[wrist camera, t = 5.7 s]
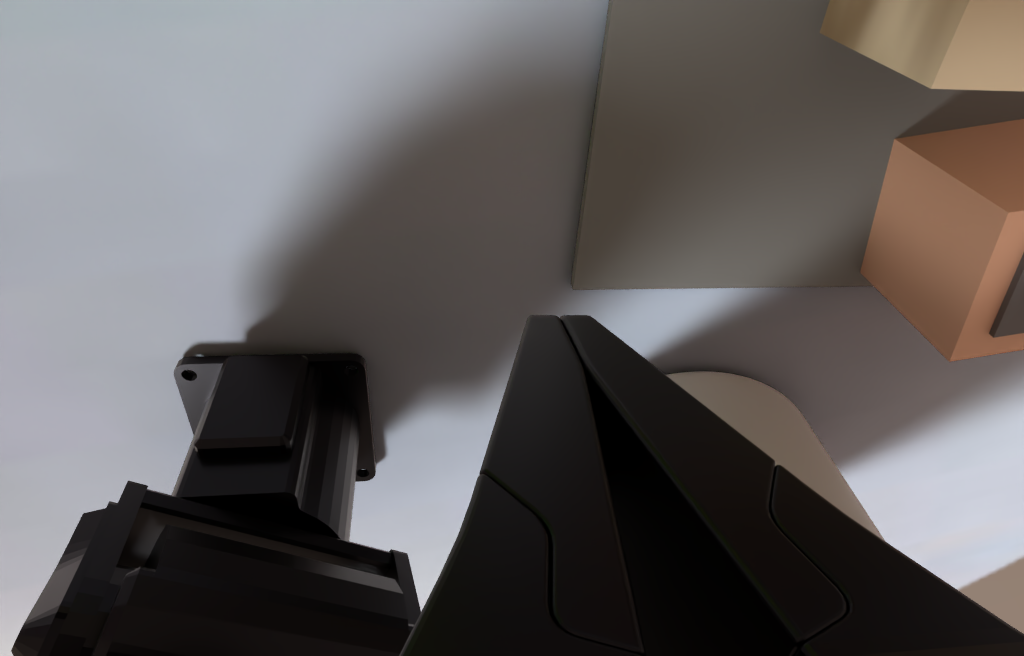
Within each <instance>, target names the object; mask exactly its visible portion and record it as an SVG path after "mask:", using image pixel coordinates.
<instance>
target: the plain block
mask: <svg viewBox="0 0 1024 656" xmlns="http://www.w3.org/2000/svg"><path fill="white" fill-rule="evenodd" d="M820 33H821V34H823V35H825V36H827V37H829V38H831V39H833V40H835V41H837V42H839V43H841V44H843V45H845V46H847V47H849V48H851V49H853V50H855V51H856V52H858V53H860V54H862V55H864V56H866V57H868V58H870V59H872V60H874V61H876V62H878V63H880V64H882V65H884V66H886V67H888V68H890V69H892V70H894V71H896V72H898V73H900V74H902V75H904V76H906V77H908V78H910V79H912V80H914V81H916V82H918V83H920V84H922V85H924V86H926V87H928V88H930V89H956V90H990V91H1024V0H830V2H829V5H828V8H827V11H826V14H825V17H824V20H823V23H822V27H821V30H820Z"/></svg>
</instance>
